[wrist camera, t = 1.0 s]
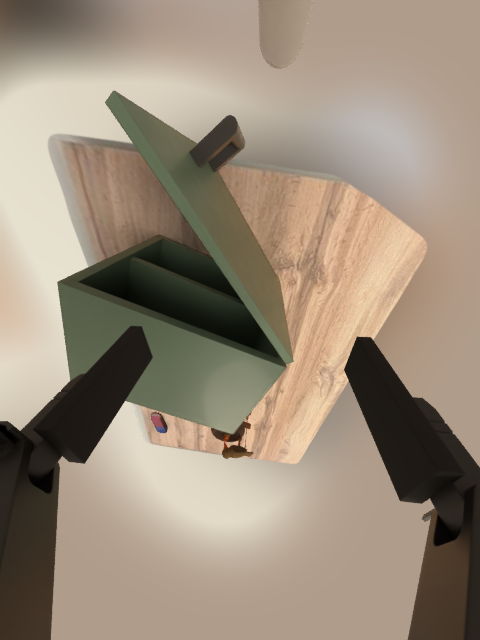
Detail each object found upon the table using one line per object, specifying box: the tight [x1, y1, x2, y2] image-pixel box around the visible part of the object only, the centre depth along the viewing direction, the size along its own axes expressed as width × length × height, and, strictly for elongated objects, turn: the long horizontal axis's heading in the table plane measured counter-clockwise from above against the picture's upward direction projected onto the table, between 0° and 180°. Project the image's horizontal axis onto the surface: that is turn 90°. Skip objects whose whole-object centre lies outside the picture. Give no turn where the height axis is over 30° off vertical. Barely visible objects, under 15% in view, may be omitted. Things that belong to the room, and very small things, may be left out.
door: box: [105, 91, 293, 364], centre depth 27 cm, size 7×26×24 cm, turn 33°
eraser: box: [151, 413, 167, 433], centre depth 80 cm, size 11×4×2 cm, turn 5°
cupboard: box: [57, 235, 286, 434], centre depth 37 cm, size 18×26×24 cm
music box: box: [211, 413, 253, 459], centre depth 58 cm, size 15×11×20 cm
